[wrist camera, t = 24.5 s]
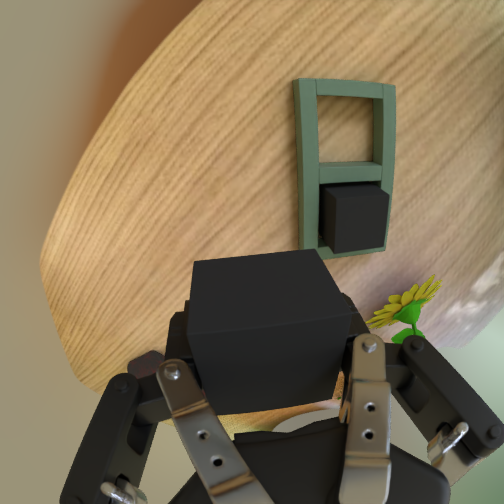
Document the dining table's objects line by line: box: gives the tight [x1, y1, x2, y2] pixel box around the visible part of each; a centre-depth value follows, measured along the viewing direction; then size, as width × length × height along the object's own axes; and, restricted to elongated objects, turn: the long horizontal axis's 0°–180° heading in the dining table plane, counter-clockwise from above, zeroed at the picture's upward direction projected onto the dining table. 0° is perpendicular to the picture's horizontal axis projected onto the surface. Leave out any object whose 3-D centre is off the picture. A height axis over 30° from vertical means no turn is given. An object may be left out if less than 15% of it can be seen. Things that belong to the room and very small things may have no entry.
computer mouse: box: [128, 351, 207, 400], centre depth 37 cm, size 8×14×4 cm, turn 32°
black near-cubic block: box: [319, 181, 390, 254], centre depth 27 cm, size 5×5×4 cm
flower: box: [338, 274, 442, 399], centre depth 37 cm, size 12×9×30 cm
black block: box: [186, 248, 352, 415], centre depth 12 cm, size 5×5×4 cm
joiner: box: [293, 78, 396, 260], centre depth 26 cm, size 10×18×2 cm, turn 4°
